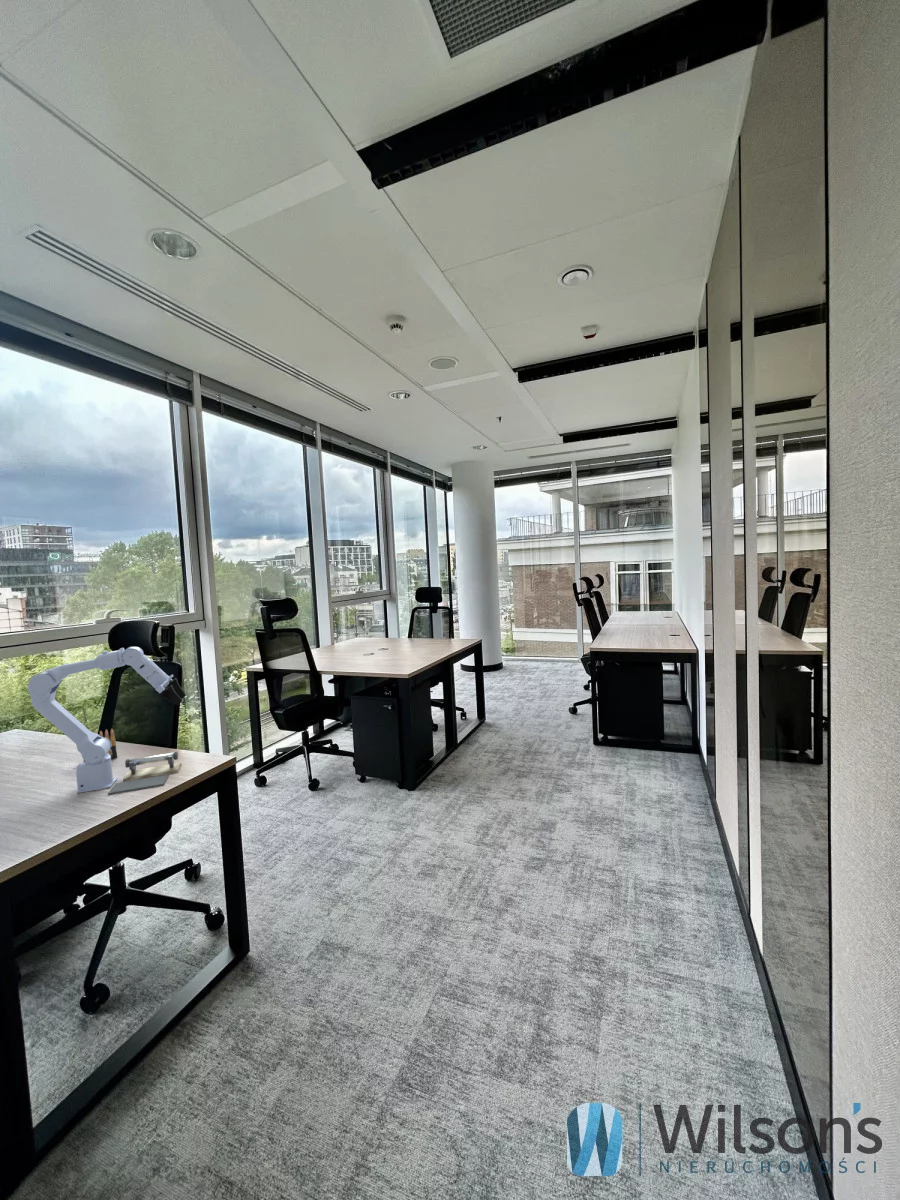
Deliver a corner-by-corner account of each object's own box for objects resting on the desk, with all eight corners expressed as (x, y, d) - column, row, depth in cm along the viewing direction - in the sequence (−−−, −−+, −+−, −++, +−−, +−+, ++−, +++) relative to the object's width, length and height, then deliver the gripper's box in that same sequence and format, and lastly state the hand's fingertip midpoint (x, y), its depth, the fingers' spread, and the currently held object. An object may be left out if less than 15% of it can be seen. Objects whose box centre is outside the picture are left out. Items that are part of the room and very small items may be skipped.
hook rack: (123, 781, 165) (121, 765, 165) (128, 773, 172) (127, 758, 172) (178, 772, 171) (176, 756, 171) (181, 765, 178) (180, 750, 177)
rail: (125, 768, 167) (124, 761, 167) (127, 765, 170) (127, 758, 170) (176, 760, 173) (176, 753, 173) (178, 757, 175) (177, 750, 175)
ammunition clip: (83, 765, 182) (80, 734, 181) (83, 763, 184) (81, 733, 183) (117, 757, 188) (114, 728, 188) (117, 756, 190) (114, 727, 189)
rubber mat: (108, 795, 155) (107, 793, 155) (115, 785, 162) (115, 783, 162) (163, 785, 161) (163, 783, 161) (168, 776, 168) (168, 774, 168)
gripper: (158, 670, 162) (187, 697, 166) (166, 662, 175) (193, 687, 179) (140, 684, 160) (170, 712, 164) (150, 675, 174) (178, 700, 178)
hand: (181, 700), depth 172 cm, fingers open, 7 cm apart
